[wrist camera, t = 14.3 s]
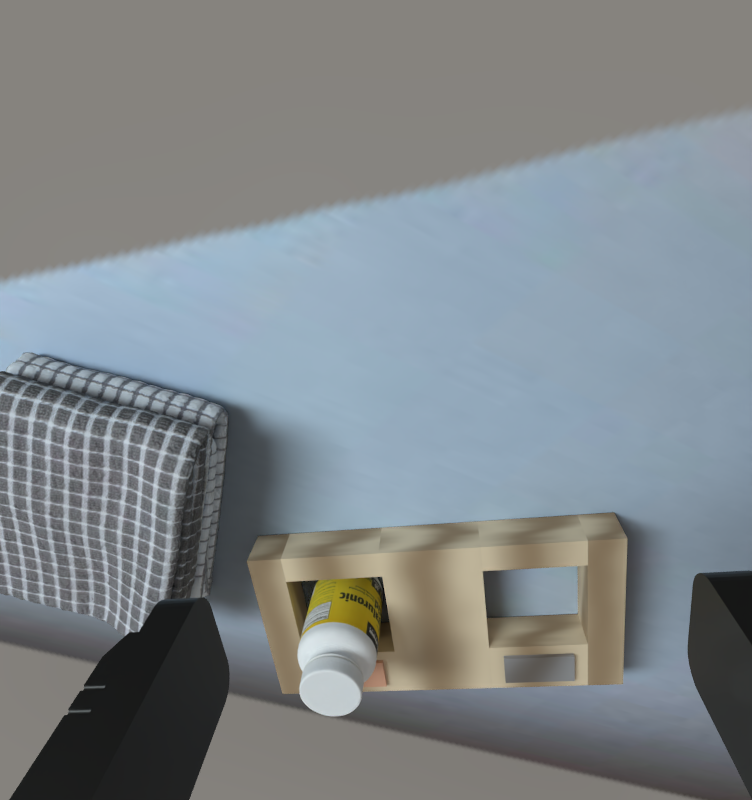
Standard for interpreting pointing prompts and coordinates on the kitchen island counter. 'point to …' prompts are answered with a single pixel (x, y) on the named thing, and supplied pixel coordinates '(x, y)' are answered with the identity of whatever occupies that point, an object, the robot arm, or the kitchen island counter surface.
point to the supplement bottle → (339, 643)
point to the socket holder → (457, 601)
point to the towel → (106, 491)
